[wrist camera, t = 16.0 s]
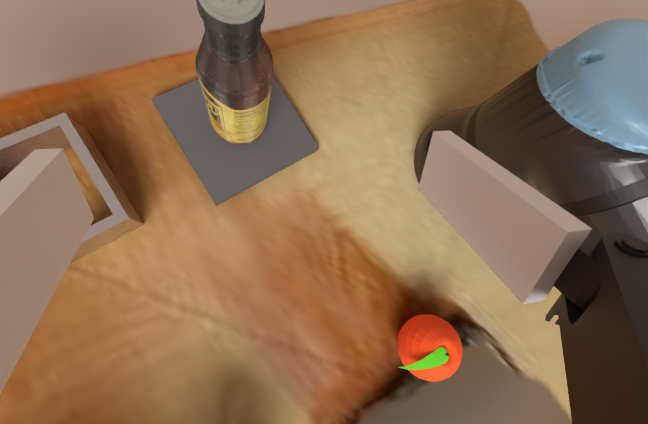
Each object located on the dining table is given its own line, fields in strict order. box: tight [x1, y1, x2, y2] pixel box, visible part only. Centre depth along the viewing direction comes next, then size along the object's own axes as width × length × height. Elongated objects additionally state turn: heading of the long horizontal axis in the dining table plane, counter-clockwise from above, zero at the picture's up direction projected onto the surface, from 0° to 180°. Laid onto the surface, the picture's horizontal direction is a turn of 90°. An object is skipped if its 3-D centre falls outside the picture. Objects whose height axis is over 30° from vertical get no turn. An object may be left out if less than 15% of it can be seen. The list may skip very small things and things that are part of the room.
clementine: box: [397, 314, 462, 381], centre depth 36 cm, size 8×7×7 cm
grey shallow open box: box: [0, 112, 144, 263], centre depth 32 cm, size 11×12×4 cm
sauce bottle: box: [195, 0, 273, 145], centre depth 29 cm, size 6×6×20 cm
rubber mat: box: [152, 74, 319, 205], centre depth 39 cm, size 14×14×1 cm
